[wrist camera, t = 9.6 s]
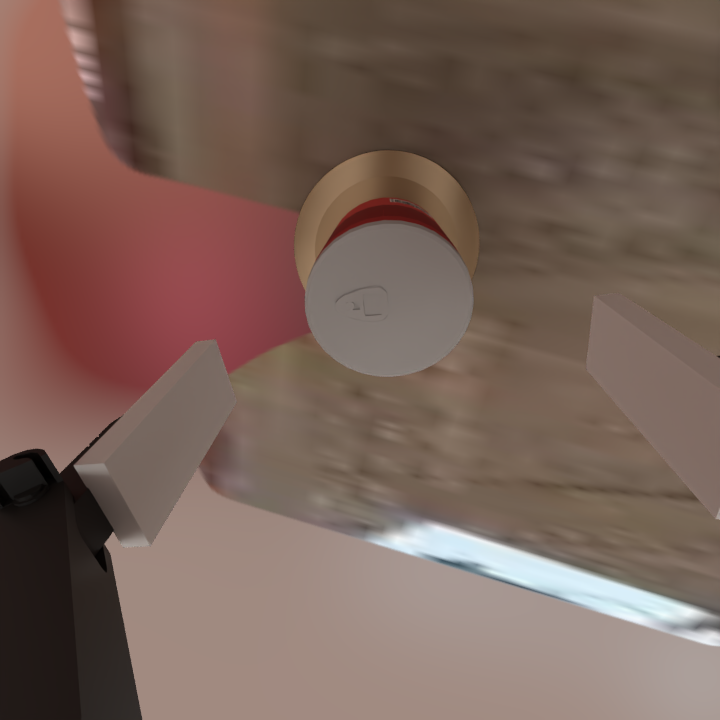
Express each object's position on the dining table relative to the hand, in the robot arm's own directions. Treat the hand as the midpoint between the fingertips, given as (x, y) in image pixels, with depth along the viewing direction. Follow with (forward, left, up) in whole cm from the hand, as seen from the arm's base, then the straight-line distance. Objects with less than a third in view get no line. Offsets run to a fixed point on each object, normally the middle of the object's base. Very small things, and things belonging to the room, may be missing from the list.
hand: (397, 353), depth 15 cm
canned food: (0, 0, -16) cm, 16 cm away
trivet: (0, 0, -17) cm, 17 cm away
